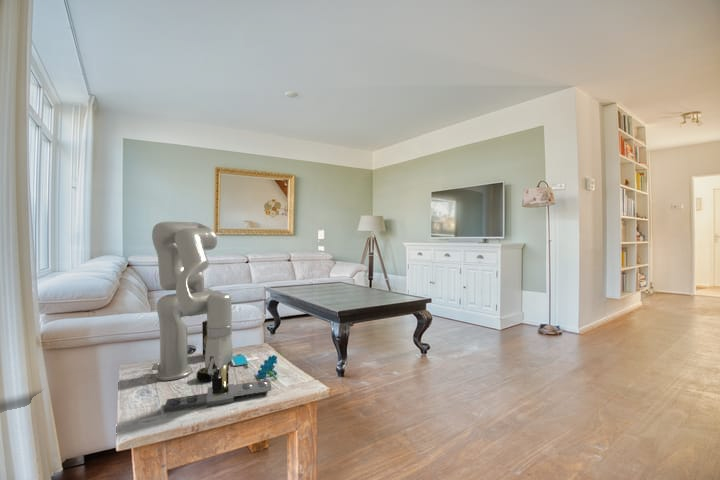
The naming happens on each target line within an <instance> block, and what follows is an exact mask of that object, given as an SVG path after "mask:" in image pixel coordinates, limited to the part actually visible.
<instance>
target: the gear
mask: <svg viewBox="0 0 720 480" xmlns="http://www.w3.org/2000/svg"><path fill="white" fill-rule="evenodd" d="M263 362H264V363H263V364H261V365H260V366H259V369H258V371H257V375H256V377H257V378H258V379H260V380H262V379H266V378H267V375H269V377H270V378H274V380H278V376H277V374H278V372H277V371H276V370H274V369H275V367H276V366H275V365H276V364H278V363H277V362H278V355H275V354H273V355H272V356H271V355H270V356H268V357H267V359H265V360H264V361H263ZM274 364H275V365H274Z"/></svg>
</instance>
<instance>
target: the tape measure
mask: <svg viewBox="0 0 720 480" xmlns="http://www.w3.org/2000/svg"><path fill="white" fill-rule="evenodd" d="M196 379H197V381H199V382H208V381H212V378H211V375H209V374H208V369H205V367H202V368H200V369H198V370H197V372H196Z"/></svg>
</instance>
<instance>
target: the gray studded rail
mask: <svg viewBox="0 0 720 480" xmlns="http://www.w3.org/2000/svg"><path fill="white" fill-rule="evenodd" d="M270 380H271V379H263V380H262V379H261V380H257V381H250V382H244V383H235V384H234V383H230V384H229V383H228V384H227V392H225V393H219V394H215V390H212V386H210V387H209V386H208V387H207V393H199V394H192V395H187V396H186V395H185V396H180V397H179V396H178V397H173V398H167V399H166V402H165V405H164V407H163V413H169V412H176V411H181V410H182V411H183V410H187V409H189V410H190V409H194V408H199V407H207V408H208V407H214V406H215V407H216V406H220V405H226V404H232V403H233V404H234V403H235V402H234V400H235V399H234V398H235V397H238V396H239V397H240V396H242V397H243V398H249V397H252V396H253V394H258V395H260V396H261V395H266V394H268V392H270V391H272V383H271V381H270Z"/></svg>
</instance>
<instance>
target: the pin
mask: <svg viewBox="0 0 720 480" xmlns="http://www.w3.org/2000/svg"><path fill="white" fill-rule="evenodd" d="M215 368H217V366H215ZM215 372H217V373H218V370H215ZM221 377H222V390H215V394H219V393H225V392H227V385H228V384H227V378H226V365H225V366H223V367H222V368H221Z"/></svg>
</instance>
